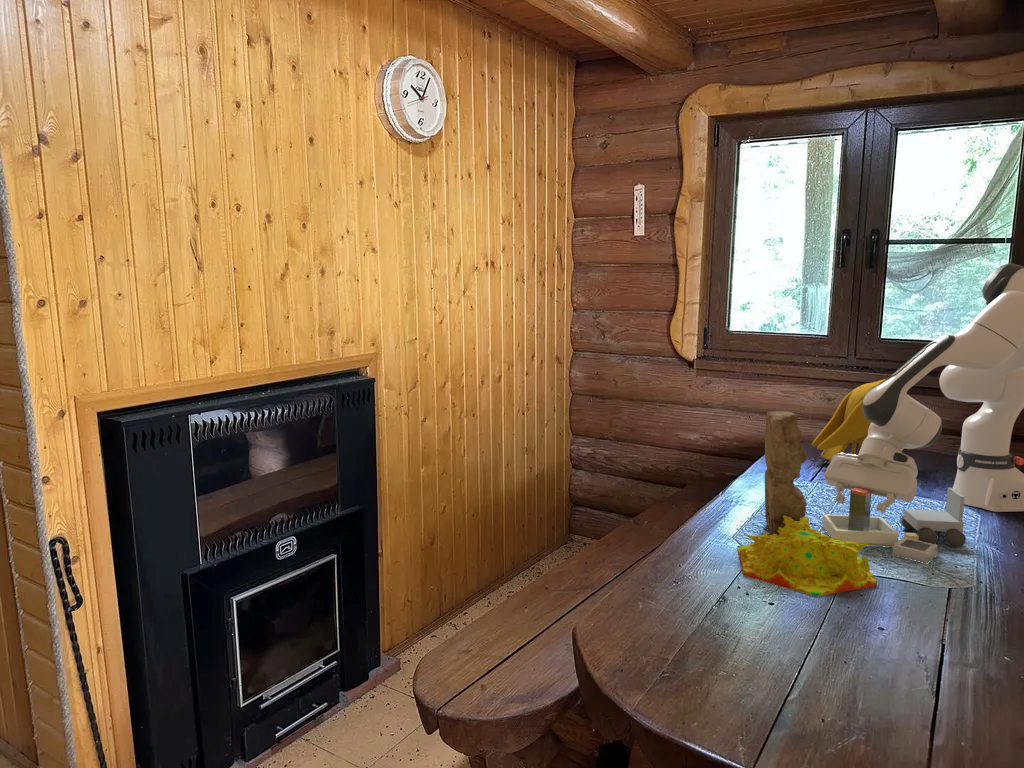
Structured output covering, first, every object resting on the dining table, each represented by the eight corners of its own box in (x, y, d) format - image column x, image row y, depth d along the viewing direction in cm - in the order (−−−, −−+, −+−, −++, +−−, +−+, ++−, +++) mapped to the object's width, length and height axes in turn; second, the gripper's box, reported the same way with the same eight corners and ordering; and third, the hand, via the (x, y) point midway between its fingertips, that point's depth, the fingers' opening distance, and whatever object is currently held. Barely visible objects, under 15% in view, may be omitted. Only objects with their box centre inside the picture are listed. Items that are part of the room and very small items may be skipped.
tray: (880, 529, 173) (881, 516, 173) (897, 547, 162) (898, 533, 162) (822, 527, 176) (822, 514, 175) (834, 544, 165) (835, 530, 164)
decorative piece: (748, 555, 140) (735, 507, 169) (746, 592, 142) (734, 538, 170) (890, 566, 135) (851, 514, 163) (887, 604, 136) (849, 546, 165)
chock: (914, 542, 165) (915, 533, 165) (917, 546, 163) (918, 536, 163) (903, 542, 166) (904, 532, 165) (906, 545, 164) (907, 535, 163)
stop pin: (853, 530, 171) (856, 486, 170) (868, 533, 169) (871, 489, 167) (847, 533, 169) (850, 489, 167) (863, 537, 166) (865, 493, 165)
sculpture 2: (908, 478, 221) (926, 385, 216) (824, 470, 221) (840, 377, 216) (876, 461, 241) (892, 375, 236) (799, 454, 241) (813, 368, 236)
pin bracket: (903, 547, 163) (903, 536, 162) (936, 555, 158) (937, 545, 157) (892, 555, 158) (893, 545, 157) (926, 564, 153) (927, 553, 152)
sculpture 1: (808, 542, 166) (815, 418, 162) (767, 539, 168) (773, 417, 163) (797, 523, 178) (804, 408, 174) (759, 521, 180) (765, 407, 175)
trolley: (943, 530, 173) (947, 485, 171) (965, 548, 162) (969, 499, 160) (900, 528, 174) (903, 483, 173) (918, 545, 163) (922, 497, 162)
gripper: (831, 444, 178) (812, 490, 173) (920, 459, 163) (902, 509, 158) (837, 458, 182) (819, 503, 177) (925, 474, 167) (907, 523, 162)
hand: (859, 506), depth 167 cm, fingers open, 8 cm apart
